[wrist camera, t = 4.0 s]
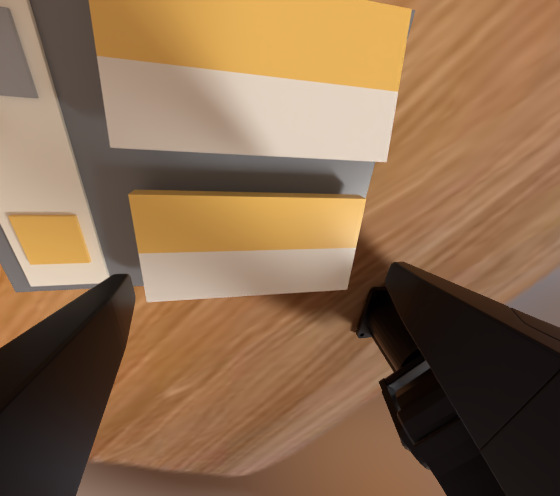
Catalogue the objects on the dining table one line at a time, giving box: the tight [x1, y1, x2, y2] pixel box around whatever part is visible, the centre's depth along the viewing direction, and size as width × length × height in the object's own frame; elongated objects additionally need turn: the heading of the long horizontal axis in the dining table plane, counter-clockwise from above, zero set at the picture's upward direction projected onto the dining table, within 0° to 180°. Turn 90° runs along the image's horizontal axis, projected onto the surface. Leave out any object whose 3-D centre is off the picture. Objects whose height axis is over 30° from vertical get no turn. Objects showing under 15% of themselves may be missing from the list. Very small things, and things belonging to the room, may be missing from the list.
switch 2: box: [128, 190, 366, 302], centre depth 15 cm, size 6×12×1 cm, turn 84°
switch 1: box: [89, 0, 412, 162], centre depth 11 cm, size 6×12×1 cm, turn 83°
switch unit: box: [0, 0, 415, 292], centre depth 14 cm, size 15×20×4 cm
